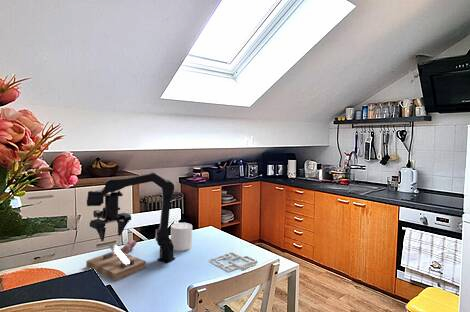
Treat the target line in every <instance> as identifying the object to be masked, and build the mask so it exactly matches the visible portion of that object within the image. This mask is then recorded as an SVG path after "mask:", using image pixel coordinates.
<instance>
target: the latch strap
mask: <svg viewBox="0 0 470 312" xmlns="http://www.w3.org/2000/svg"><path fill="white" fill-rule="evenodd" d="M108 248H109V249H110V250H111V252H113V253H114V254H115V255H116V256H117V258H118V259H119V260H120V261H121V262H122V263H125V267H126V266H128V265H130V264H131V262H130V261H129V260H128V259H127V257H126V256H125V255H124V254H123V253H122V251H121V250H120V249H121V248H119V247H118V245H117V244H116V243H113V244H111V245H109V246H108Z"/></svg>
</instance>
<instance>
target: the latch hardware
mask: <svg viewBox="0 0 470 312" xmlns="http://www.w3.org/2000/svg"><path fill="white" fill-rule="evenodd" d="M112 252H113V251H111V252H107V253H105V254H102V255H103V259H108V258H110V257H113V253H112ZM130 262H131V264H132V265H133V264H134V260H133V259H130ZM121 268H125V263H121Z"/></svg>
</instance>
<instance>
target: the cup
mask: <svg viewBox="0 0 470 312" xmlns="http://www.w3.org/2000/svg"><path fill="white" fill-rule="evenodd" d="M170 239H171V240H172V243H173V245H174V247H173V251H177V252H178V251H181V252H183V251H187V250H190V249H192V247H193V225H192V224H191V223H188V222H175V223H172V224H171V225H170Z"/></svg>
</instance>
